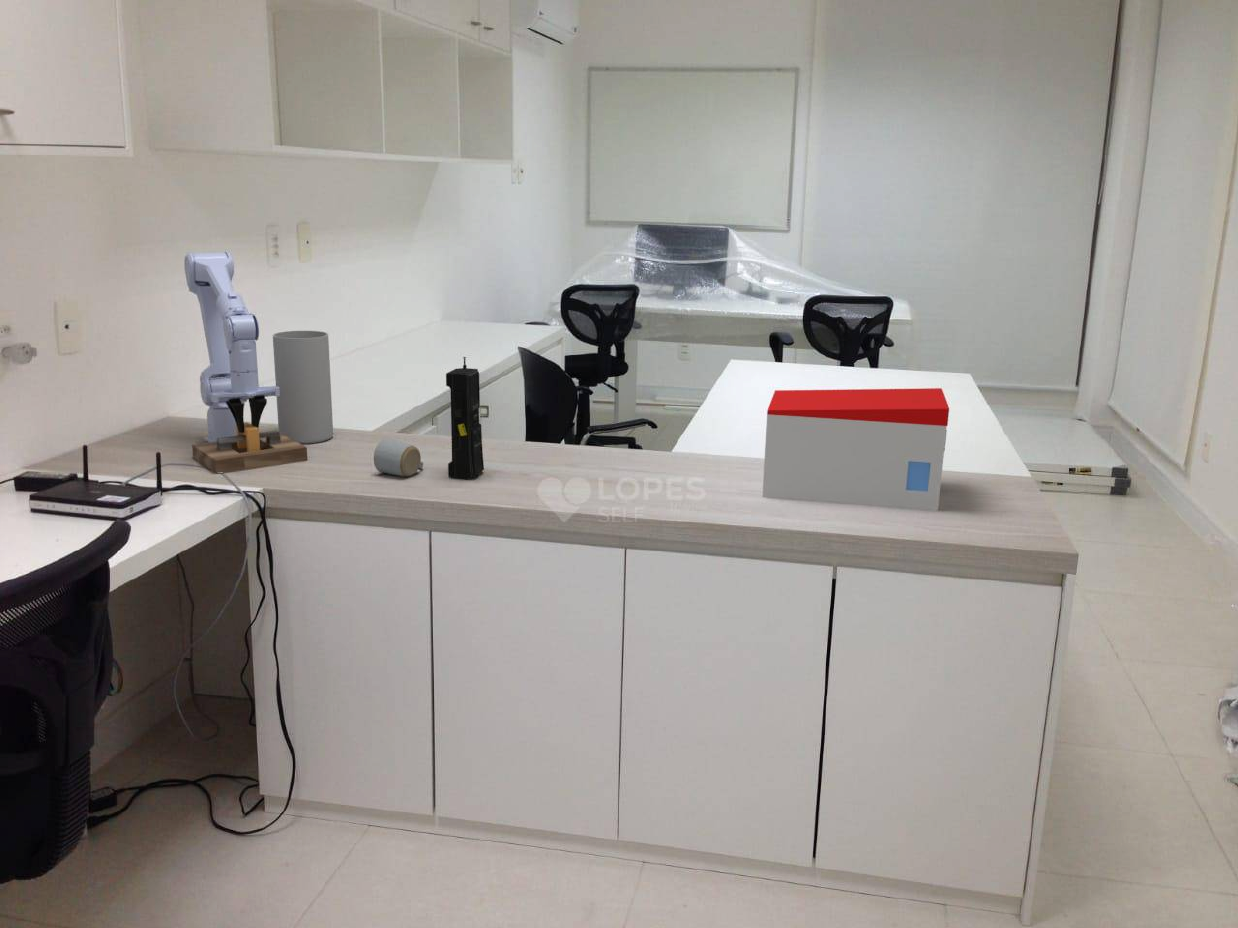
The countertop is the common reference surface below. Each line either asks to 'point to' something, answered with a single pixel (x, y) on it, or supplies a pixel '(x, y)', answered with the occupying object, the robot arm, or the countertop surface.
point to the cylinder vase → (303, 385)
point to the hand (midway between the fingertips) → (248, 431)
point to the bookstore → (857, 446)
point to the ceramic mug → (397, 458)
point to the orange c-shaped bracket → (249, 438)
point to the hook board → (249, 453)
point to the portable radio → (465, 423)
